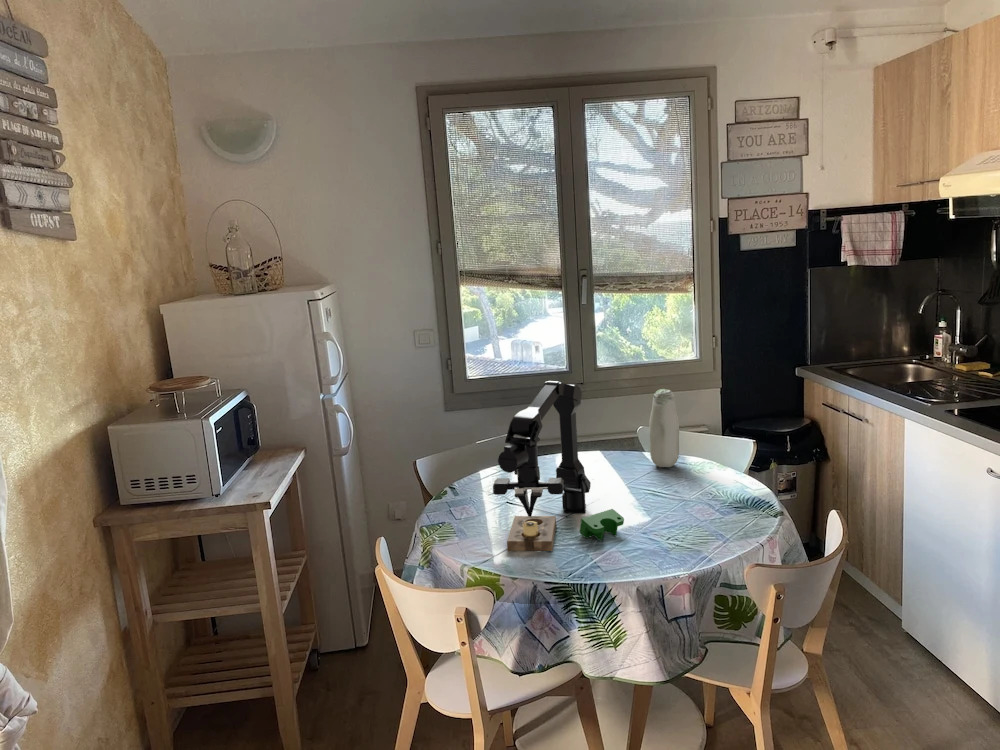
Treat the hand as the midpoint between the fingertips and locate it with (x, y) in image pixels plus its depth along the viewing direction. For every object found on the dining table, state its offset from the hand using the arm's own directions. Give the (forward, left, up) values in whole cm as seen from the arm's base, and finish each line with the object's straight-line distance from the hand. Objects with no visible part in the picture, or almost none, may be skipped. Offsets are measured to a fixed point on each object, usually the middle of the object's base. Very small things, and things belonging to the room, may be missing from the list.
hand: (530, 516), depth 201 cm
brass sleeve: (0, 0, -8) cm, 8 cm away
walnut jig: (0, -4, -8) cm, 9 cm away
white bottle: (-41, -66, -8) cm, 78 cm away
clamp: (-19, -6, -9) cm, 22 cm away
